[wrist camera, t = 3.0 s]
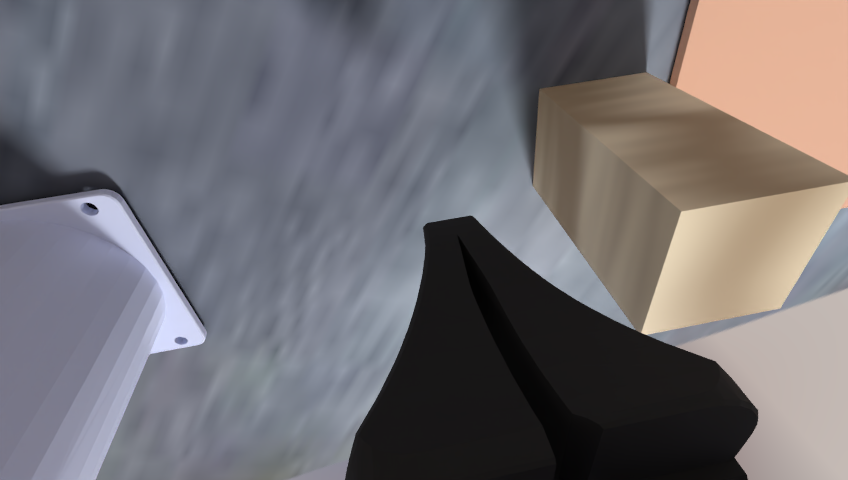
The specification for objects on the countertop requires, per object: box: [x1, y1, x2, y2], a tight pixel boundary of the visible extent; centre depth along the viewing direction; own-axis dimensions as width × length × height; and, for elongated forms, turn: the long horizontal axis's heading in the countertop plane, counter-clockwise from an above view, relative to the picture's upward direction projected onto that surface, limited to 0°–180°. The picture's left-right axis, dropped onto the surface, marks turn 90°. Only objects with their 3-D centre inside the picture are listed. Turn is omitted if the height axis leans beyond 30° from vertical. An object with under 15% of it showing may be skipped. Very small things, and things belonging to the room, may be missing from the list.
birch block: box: [533, 72, 848, 335], centre depth 13 cm, size 4×4×8 cm
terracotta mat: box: [669, 0, 848, 208], centre depth 17 cm, size 14×12×1 cm
